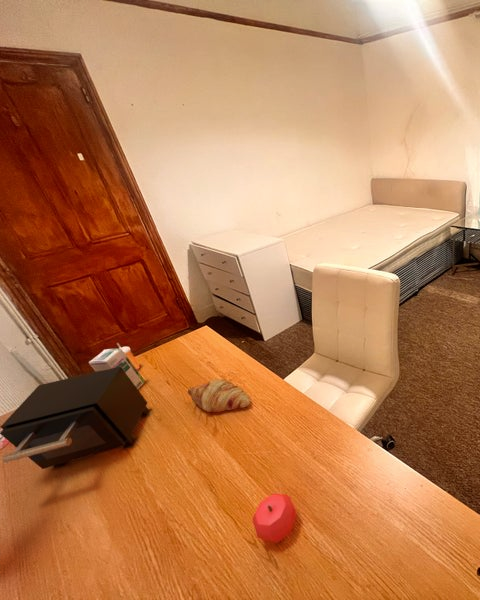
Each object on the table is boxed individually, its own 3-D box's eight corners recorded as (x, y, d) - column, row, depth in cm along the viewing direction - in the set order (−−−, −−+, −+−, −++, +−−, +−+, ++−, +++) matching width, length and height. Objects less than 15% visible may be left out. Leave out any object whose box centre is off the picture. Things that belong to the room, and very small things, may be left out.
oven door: (112, 469, 73) (76, 433, 65) (24, 495, 69) (-25, 459, 61) (126, 442, 79) (94, 406, 71) (45, 464, 75) (3, 428, 68)
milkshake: (140, 361, 110) (125, 339, 105) (143, 368, 107) (127, 346, 101) (125, 368, 107) (108, 346, 102) (127, 376, 104) (110, 353, 99)
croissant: (261, 406, 93) (261, 380, 93) (236, 421, 83) (237, 392, 83) (202, 396, 98) (203, 371, 97) (173, 409, 88) (173, 382, 87)
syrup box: (133, 395, 96) (106, 360, 88) (115, 396, 96) (87, 361, 89) (146, 381, 101) (122, 347, 93) (128, 382, 101) (103, 348, 94)
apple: (281, 497, 67) (271, 476, 63) (308, 516, 64) (298, 496, 59) (250, 534, 61) (236, 515, 57) (277, 558, 58) (265, 539, 54)
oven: (134, 446, 80) (96, 402, 72) (51, 470, 76) (-1, 427, 67) (151, 408, 91) (120, 366, 82) (79, 427, 87) (38, 385, 78)
